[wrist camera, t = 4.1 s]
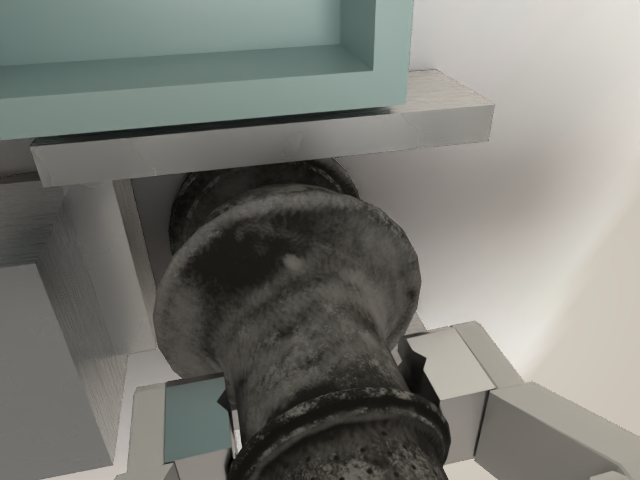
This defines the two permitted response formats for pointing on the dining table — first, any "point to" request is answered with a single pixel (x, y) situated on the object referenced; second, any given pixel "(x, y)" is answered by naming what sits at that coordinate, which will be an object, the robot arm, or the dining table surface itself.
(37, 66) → the tray
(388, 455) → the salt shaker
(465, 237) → the dining table surface
